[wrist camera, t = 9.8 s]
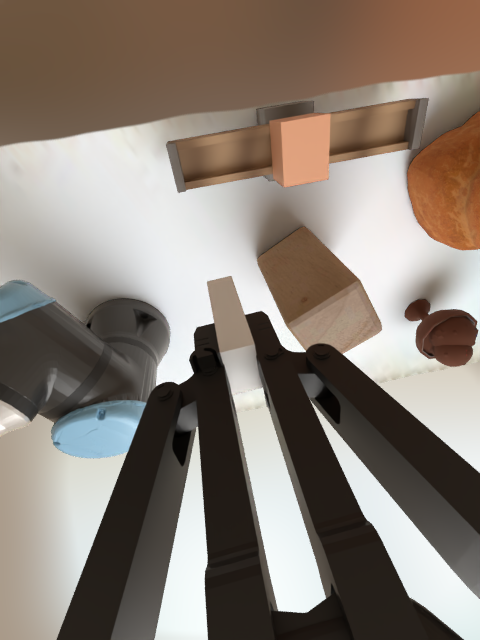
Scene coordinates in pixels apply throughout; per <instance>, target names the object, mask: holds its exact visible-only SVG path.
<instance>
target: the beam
mask: <svg viewBox="0 0 480 640" xmlns="http://www.w3.org/2000/svg"><path fill="white" fill-rule="evenodd" d="M428 100H429V98H422V99H405V100H400V101H394V102H388V103H383V104H377V105H371V106H366V107H360V108H355V109H349V110H343V111H338V112H332V113H326V114H331V117H330V146H329V164H330V163H335V162H341V161H346V160H351V159H357V158H362V157H368V156H373V155H379V154H384V153H390V152H395V151H400V150H406V149H409V150H414V149H419V147H420V142H421V137H422V132H423V126H424V121H425V116H426V111H427V106H428ZM256 110H257V121H258V126H253V127H247V128H242V129H236V130H230V131H225V132H219V133H213V134H208V135H202V136H196V137H191V138H185V139H179V140H174V141H168V142H167V144H166V146H167V150H168V154H169V158H170V162H171V166H172V171H173V175H174V179H175V183H176V187H177V191H178V193H180V192H185V191H186V190H188V189H193V188H199V187H204V186H210V185H215V184H221V183H226V182H232V181H237V180H242V179H248V178H253V177H259V176H264V177H265V178H266V179H268V180H269V181H275V180H274V179H273V167H272V152H271V138H270V123H269V121H271V120H276V119H282V118H288V117H293V116H299V115H305V114H310V113H314V101H300V102H295V103H289V104H283V105H277V106H272V107H266V108H260V109H256Z"/></svg>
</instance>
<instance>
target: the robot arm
mask: <svg viewBox="0 0 480 640" xmlns="http://www.w3.org/2000/svg"><path fill="white" fill-rule="evenodd" d="M207 285H208V291H209V296H210V302H211V307H212V312H213V318H214V323H213V324H209V325H205V326H201V327H197V329H196V331H195V333H194V344H195V351H194V352H193V353H192V354H191V356H190V359H189V361H190V364H191V366H192V369H193V372H194V374H193V376H192V377H191V378H189V379H188V380H187V381H185V382H183V383H181V384H179V385H178V384H176V383H174V382H165V383H162V384H160V385H158V386H156V375H157V366H158V365H159V363H160V362H161V360H162V358H163V356H164V355H165V354H166V352H167V350H168V347H169V343H170V328H169V325H168V322H167V320H166V319H165V317H164V316H163V315H162V314H161V313H160V312H159V311H158V310H157V309H155V308H154V307H152V306H151V305H149V304H147V303H144V302H141V301H138V300H133V299H115V300H111V301H107V302H105V303H103V304H101V305H99V306H98V307H96V308H95V309H94V310H93V311H92V312H91V313H90V315H89V317H88V319H87V321H86V323H85V325H84V324H83V323H82V322H81V321H79V320H78V319H77V318H76V317H74V316H73V315H72V314H71V313H69V312H68V311H67V310H66V309H65V308H63V307H62V306H61V305H60V304H58V303H57V302H56V299H54V298H50V297H49V296H47V295H46V294H44V293H43V292H42V291H40V290H39V289H38V288H36V287H35V286H33V285H32V284H31V283H29V282H26V281H23V280H13V281H9V282H7V283H5V284H4V285H2V286H1V287H0V437H1V436H2V435H4V434H6V433H7V432H10V431H13V430H17V429H20V428H23V427H26V426H28V425H29V424H30V423H31V421H32V420H33V419H34V417H35V416H36V415H37V413H38V414H40V415H42V416H44V417H45V418H47V419H49V420H51V421H52V422H54V425H53V427H52V430H51V433H52V436H51V437H52V440H53V444H54V445H55V447H56V448H57V449H59V450H60V451H62V452H64V453H66V454H69V455H71V456H75V457H81V458H103V457H111V456H116V455H120V454H123V453H125V452H128V453H127V455H126V458H125V461H124V463H123V466H122V468H121V471H120V474H119V476H118V479H117V482H116V484H115V487H114V490H113V492H112V495H111V497H110V500H109V503H108V505H107V508H106V511H105V513H104V516H103V519H102V521H101V524H100V527H99V529H98V532H97V534H96V537H95V540H94V542H93V546H92V548H91V550H90V553H89V555H88V558H87V561H86V564H85V566H84V569H83V571H82V574H81V577H80V579H79V582H78V585H77V587H76V590H75V592H74V595H73V598H72V600H71V603H70V606H69V608H68V611H67V613H66V616H65V619H64V621H63V624H62V627H61V629H60V632H59V634H58V638H57V640H154V638H155V633H156V628H157V623H158V618H159V613H160V608H161V603H162V598H163V593H164V588H165V583H166V578H167V573H168V567H169V563H170V558H171V553H172V548H173V543H174V537H175V532H176V528H177V522H178V518H179V513H180V507H181V503H182V498H183V492H184V488H185V483H186V478H187V472H188V467H189V462H190V457H191V452H192V446H193V442H194V437H195V432H196V427H198V430H199V445H200V459H201V472H202V485H203V497H204V498H203V499H204V513H205V527H206V540H207V554H208V564H207V568H206V571H205V596H206V612H207V628H208V640H464V639H462V638H461V637H460V636H459V635H458V634H456V633H455V632H454V631H453V630H451V629H450V628H449V627H448V626H447V625H446V624H444V623H443V622H442V621H441V620H440V619H438V618H437V617H436V616H435V615H434V614H433V613H431V612H430V611H429V610H427V609H426V608H425V607H424V606H422V605H421V604H419V603H418V602H416V601H415V600H413V599H411V598H409V596H408V594H407V592H406V590H405V588H404V586H403V584H402V582H401V580H400V578H399V576H398V574H397V571H396V569H395V567H394V565H393V563H392V561H391V559H390V557H389V555H388V553H387V551H386V548H385V546H384V544H383V542H382V540H381V538H380V536H379V535H378V533H377V531H376V529H375V528H374V526H373V525H372V524H371V523H370V522H369V521H367V520H366V518H365V517H364V515H363V513H362V511H361V509H360V507H359V505H358V502H357V500H356V498H355V496H354V494H353V492H352V489H351V487H350V485H349V483H348V481H347V479H346V477H345V475H344V472H343V470H342V468H341V466H340V464H339V462H338V460H337V457H336V455H335V453H334V451H333V449H332V447H331V444H330V442H329V440H328V438H327V436H326V434H325V432H324V429H323V427H322V425H321V423H320V421H319V419H318V416H317V415H316V412H315V410H314V408H313V406H312V404H311V401H312V403H313V404H314V405H315V406H316V407H317V408H318V410H319V411H320V412H321V413H322V414H323V416H324V417H325V418H326V419H327V420H328V422H329V423H330V424H331V425H332V426H333V428H334V429H335V430H336V431H337V432H338V434H339V435H340V436H341V437H342V438H343V440H344V441H345V442H346V443H347V444H348V446H349V447H350V448H351V449H352V450H353V452H354V453H355V454H356V455H357V456H358V458H359V459H360V460H361V461H362V462H363V463H364V465H365V466H366V467H367V468H368V469H369V471H370V472H371V473H372V474H373V475H374V477H375V478H376V479H377V480H378V481H379V483H380V484H381V485H382V486H383V487H384V489H385V490H386V491H387V492H388V493H389V495H390V496H391V497H392V498H393V499H394V501H395V502H396V503H397V504H398V505H399V507H400V508H401V509H402V510H403V511H404V513H405V514H406V515H407V516H408V517H409V519H410V520H411V521H412V522H413V523H414V525H415V526H416V527H417V528H418V529H419V531H420V532H421V533H422V534H423V535H424V537H425V538H426V539H427V540H428V541H429V542H430V544H431V545H432V546H433V547H434V548H435V550H436V551H437V552H438V553H439V554H440V555H441V557H442V558H443V559H444V560H445V562H446V563H447V564H448V565H449V566H450V568H451V569H452V570H453V571H454V572H455V573H456V574H457V575H458V577H459V578H460V579H461V580H462V581H463V582H464V583H465V584H466V586H467V587H468V588H469V589H470V590H471V591H472V592H473V593H474V594H475V595H476V596H477V597H478V598H479V599H480V473H479V472H478V471H477V470H475V469H474V468H473V467H472V466H471V465H470V464H469V463H468V462H466V461H465V460H464V459H463V458H462V457H461V456H459V455H458V454H457V453H456V452H455V451H454V450H452V449H451V448H450V447H449V446H448V445H447V444H445V443H444V442H443V441H442V440H441V439H440V438H439V437H437V436H436V435H435V434H434V433H433V432H432V431H431V430H429V429H428V428H427V427H426V426H425V425H424V424H422V423H421V422H420V421H419V420H418V419H417V418H415V417H414V416H413V415H412V414H411V413H410V412H409V411H407V410H406V409H405V408H404V407H403V406H402V405H400V404H399V403H398V402H397V401H396V400H395V399H393V398H392V397H391V396H390V395H389V394H388V393H387V392H385V391H384V390H383V389H382V388H381V387H380V386H378V385H377V384H376V383H375V382H374V381H373V380H372V379H370V378H369V377H368V376H367V375H366V374H365V373H363V372H362V371H361V370H360V369H359V368H358V367H357V366H355V365H354V364H353V363H352V362H351V361H350V360H348V359H347V358H346V357H345V356H344V355H343V354H341V353H340V352H339V351H338V350H337V349H336V348H335V347H333V346H331V345H329V344H325V343H317V344H314V345H311V346H310V347H308V349H307V350H306V352H291V351H288V350H286V349H285V348H284V347H283V346H282V345H281V344H280V341H279V339H278V337H277V335H276V333H275V330H274V328H273V326H272V324H271V322H270V319H269V317H268V315H266V314H265V313H264V312H262V311H260V312H255V313H251V314H247V315H245V314H244V312H243V309H242V306H241V303H240V300H239V297H238V294H237V291H236V288H235V285H234V282H233V279H232V277H231V276H229V277H224V278H220V279H216V280H212V281H208V282H207ZM259 388H263V389H264V394H265V399H266V405H267V407H268V408H269V411H270V414H271V417H272V421H273V424H274V427H275V430H276V434H277V437H278V440H279V443H280V446H281V450H282V452H283V456H284V459H285V462H286V465H287V469H288V472H289V475H290V478H291V482H292V485H293V488H294V491H295V494H296V498H297V501H298V504H299V507H300V511H301V513H302V517H303V520H304V523H305V527H306V530H307V533H308V536H309V539H310V542H311V546H312V549H313V552H314V555H315V559H316V562H317V566H318V569H319V573H320V578H321V581H322V585H323V589H324V592H325V595H326V599H325V600H324V601H322V602H321V603H320V604H318V605H317V606H316V607H314V608H313V609H312V610H310V611H309V612H307V613H295V612H294V613H293V612H283V611H282V612H281V611H278V609H277V605H276V600H275V596H274V592H273V587H272V584H271V579H270V574H269V570H268V565H267V560H266V555H265V550H264V545H263V540H262V536H261V531H260V526H259V521H258V516H257V511H256V506H255V501H254V497H253V493H252V487H251V482H250V477H249V473H248V467H247V463H246V458H245V453H244V448H243V443H242V439H241V434H240V429H239V424H238V419H237V414H236V409H235V404H234V401H233V397H232V395H235V394H239V393H243V392H247V391H251V390H255V389H259ZM309 398H310V399H309ZM310 400H311V401H310Z"/></svg>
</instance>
